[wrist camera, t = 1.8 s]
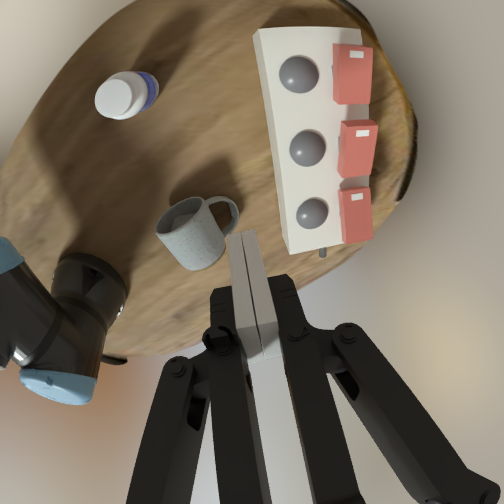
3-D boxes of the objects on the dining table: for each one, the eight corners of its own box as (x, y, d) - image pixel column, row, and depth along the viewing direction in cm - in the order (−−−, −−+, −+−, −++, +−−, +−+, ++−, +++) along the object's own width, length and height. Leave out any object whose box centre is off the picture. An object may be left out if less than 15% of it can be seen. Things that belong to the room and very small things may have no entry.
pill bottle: (151, 64, 25) (128, 60, 18) (165, 100, 29) (147, 108, 21) (113, 84, 26) (80, 88, 18) (128, 118, 29) (100, 133, 21)
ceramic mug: (187, 252, 42) (184, 285, 36) (158, 212, 38) (149, 241, 32) (247, 223, 41) (255, 253, 35) (222, 178, 36) (225, 202, 30)
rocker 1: (332, 99, 26) (338, 104, 25) (332, 43, 20) (339, 45, 19) (363, 98, 26) (370, 104, 25) (365, 45, 20) (373, 48, 19)
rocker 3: (342, 240, 36) (346, 244, 34) (337, 189, 33) (342, 191, 31) (367, 235, 36) (372, 238, 34) (364, 185, 33) (370, 187, 31)
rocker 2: (337, 170, 31) (342, 178, 30) (340, 120, 26) (347, 127, 25) (364, 167, 31) (370, 174, 30) (371, 119, 26) (378, 125, 25)
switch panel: (284, 255, 45) (293, 279, 40) (252, 35, 25) (259, 27, 20) (350, 241, 45) (365, 262, 41) (342, 33, 25) (364, 28, 20)
